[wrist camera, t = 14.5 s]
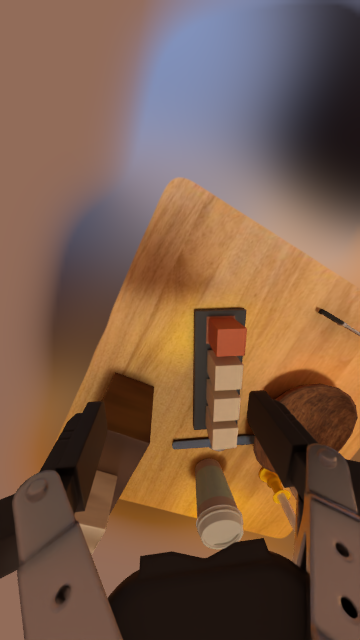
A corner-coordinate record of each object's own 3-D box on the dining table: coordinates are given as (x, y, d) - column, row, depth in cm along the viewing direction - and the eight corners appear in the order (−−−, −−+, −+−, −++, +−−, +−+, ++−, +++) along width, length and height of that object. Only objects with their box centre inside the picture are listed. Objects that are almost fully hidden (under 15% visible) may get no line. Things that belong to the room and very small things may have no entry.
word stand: (118, 453, 43) (86, 591, 25) (81, 442, 42) (19, 580, 24) (154, 386, 40) (146, 492, 22) (115, 371, 38) (71, 471, 20)
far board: (193, 424, 43) (199, 456, 36) (194, 309, 36) (201, 321, 29) (234, 421, 44) (248, 452, 36) (243, 308, 37) (262, 319, 30)
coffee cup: (187, 482, 47) (195, 553, 36) (191, 453, 45) (200, 519, 34) (223, 481, 48) (242, 550, 37) (228, 453, 46) (250, 516, 34)
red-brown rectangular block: (232, 341, 37) (244, 355, 31) (208, 342, 36) (216, 357, 31) (233, 317, 35) (247, 328, 30) (208, 318, 35) (217, 329, 29)
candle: (254, 473, 48) (295, 568, 33) (270, 460, 48) (320, 550, 33) (267, 483, 50) (312, 579, 35) (284, 470, 49) (337, 562, 34)
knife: (370, 340, 41) (381, 344, 39) (368, 343, 41) (378, 347, 39) (316, 307, 38) (324, 309, 36) (314, 310, 38) (322, 313, 36)
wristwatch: (261, 444, 46) (263, 448, 45) (172, 451, 44) (172, 455, 43) (263, 429, 45) (265, 432, 44) (172, 435, 43) (172, 439, 42)
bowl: (354, 390, 44) (377, 406, 39) (297, 464, 49) (312, 486, 44) (281, 357, 40) (297, 370, 35) (227, 440, 45) (235, 461, 40)
